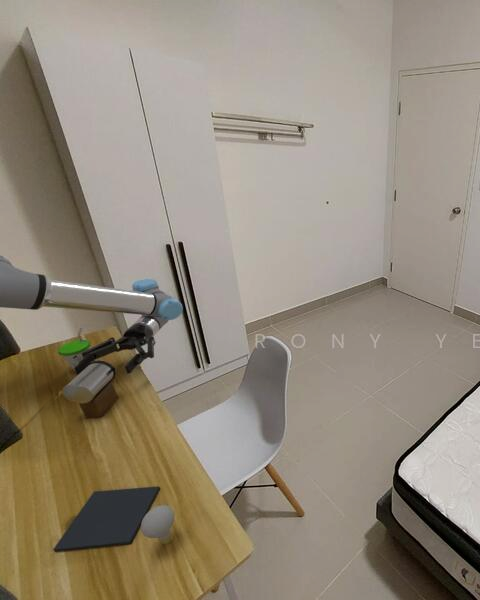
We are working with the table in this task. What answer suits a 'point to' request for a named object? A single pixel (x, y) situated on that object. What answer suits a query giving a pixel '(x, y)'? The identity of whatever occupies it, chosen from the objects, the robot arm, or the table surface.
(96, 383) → the pot
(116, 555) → the table surface
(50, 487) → the table surface
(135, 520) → the mat
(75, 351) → the cup
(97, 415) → the dark brown wooden block
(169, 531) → the light bulb
